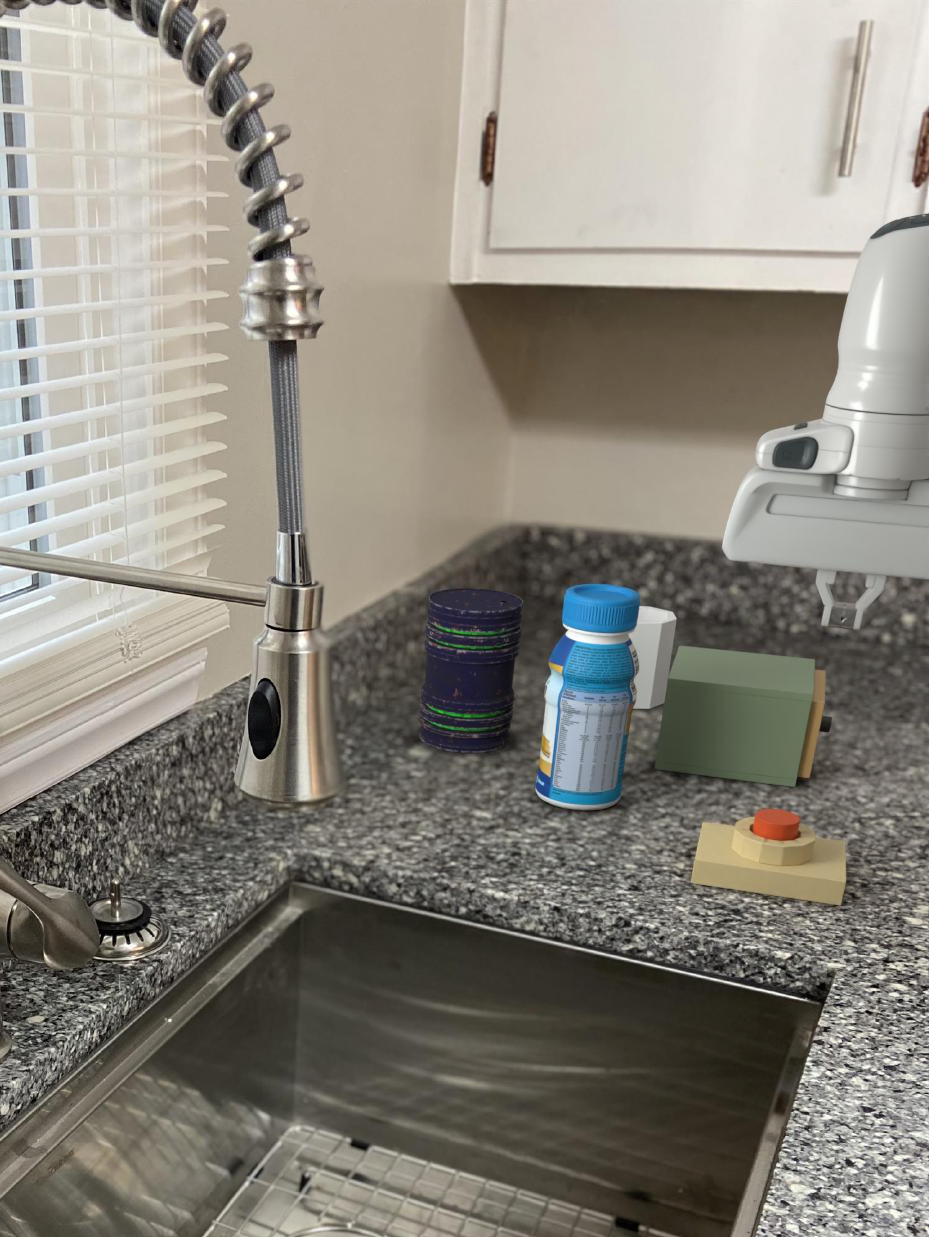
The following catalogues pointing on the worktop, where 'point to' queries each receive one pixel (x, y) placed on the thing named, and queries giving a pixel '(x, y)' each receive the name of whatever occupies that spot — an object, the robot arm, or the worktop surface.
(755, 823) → the button
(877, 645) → the worktop surface
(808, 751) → the drawer
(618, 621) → the beverage bottle
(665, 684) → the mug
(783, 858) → the control block
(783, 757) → the cabinet
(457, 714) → the storage jar
